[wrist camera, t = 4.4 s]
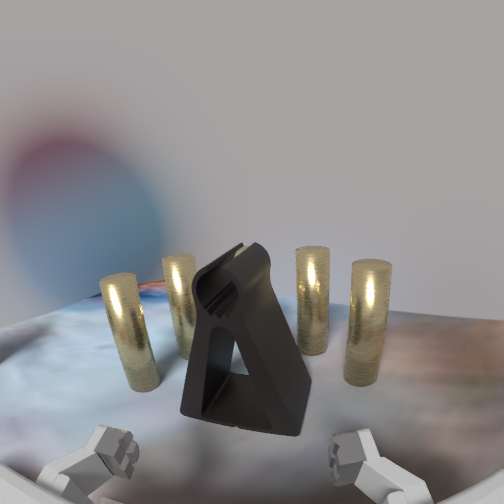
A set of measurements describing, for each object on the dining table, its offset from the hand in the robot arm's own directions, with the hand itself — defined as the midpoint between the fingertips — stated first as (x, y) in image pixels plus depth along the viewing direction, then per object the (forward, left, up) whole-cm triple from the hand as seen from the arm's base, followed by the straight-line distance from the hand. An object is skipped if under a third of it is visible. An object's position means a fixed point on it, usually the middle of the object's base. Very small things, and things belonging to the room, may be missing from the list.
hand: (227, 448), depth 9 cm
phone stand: (0, -10, -7) cm, 12 cm away
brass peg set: (0, -15, -6) cm, 17 cm away
